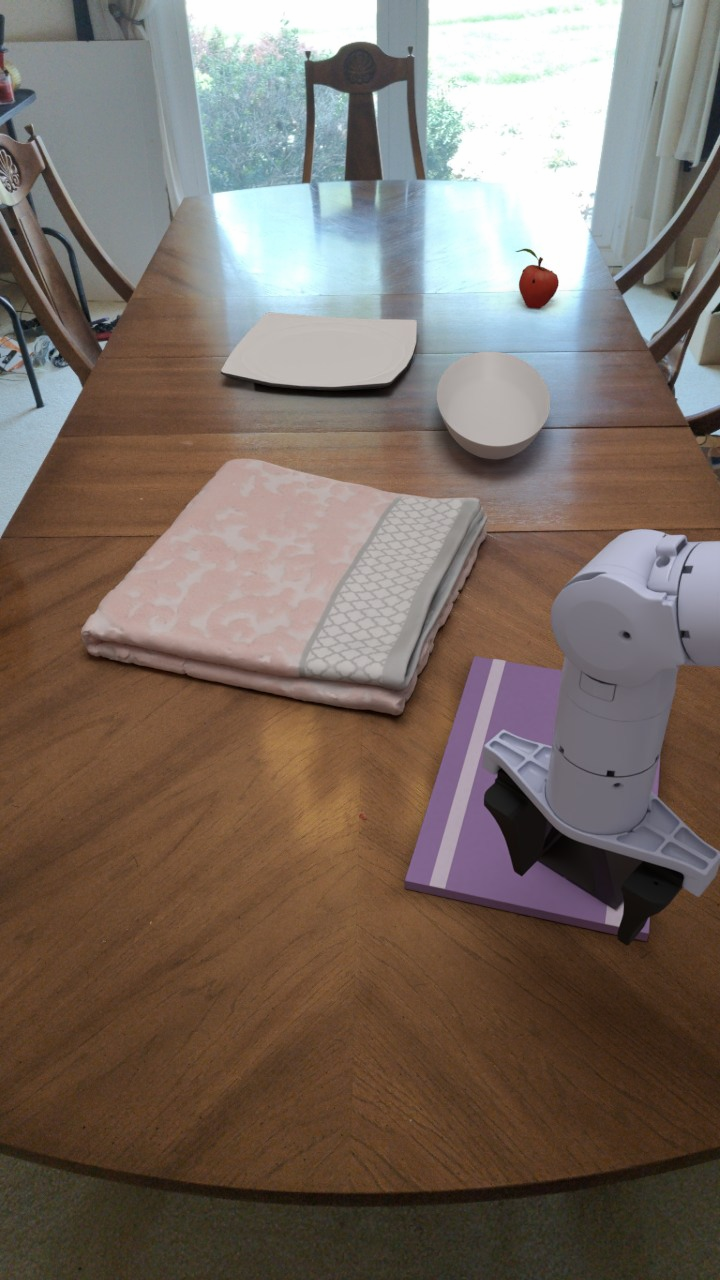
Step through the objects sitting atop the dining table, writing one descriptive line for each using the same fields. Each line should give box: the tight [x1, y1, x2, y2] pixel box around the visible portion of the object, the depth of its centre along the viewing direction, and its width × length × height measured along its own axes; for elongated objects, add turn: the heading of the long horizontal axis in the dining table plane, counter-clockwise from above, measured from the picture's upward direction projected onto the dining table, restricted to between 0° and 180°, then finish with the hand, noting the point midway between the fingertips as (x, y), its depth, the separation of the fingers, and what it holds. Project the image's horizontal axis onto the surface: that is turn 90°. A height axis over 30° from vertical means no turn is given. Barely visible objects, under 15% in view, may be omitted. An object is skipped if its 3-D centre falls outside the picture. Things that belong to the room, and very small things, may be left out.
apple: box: [515, 248, 559, 310], centre depth 172 cm, size 8×7×10 cm
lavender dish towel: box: [404, 655, 662, 942], centre depth 83 cm, size 28×18×1 cm, turn 164°
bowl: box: [436, 350, 551, 460], centre depth 133 cm, size 30×15×6 cm, turn 176°
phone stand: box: [538, 820, 643, 909], centre depth 72 cm, size 9×6×12 cm, turn 47°
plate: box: [220, 311, 418, 392], centre depth 156 cm, size 29×29×3 cm
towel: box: [80, 458, 489, 716], centre depth 105 cm, size 36×34×6 cm
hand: (577, 897), depth 61 cm, fingers open, 7 cm apart
